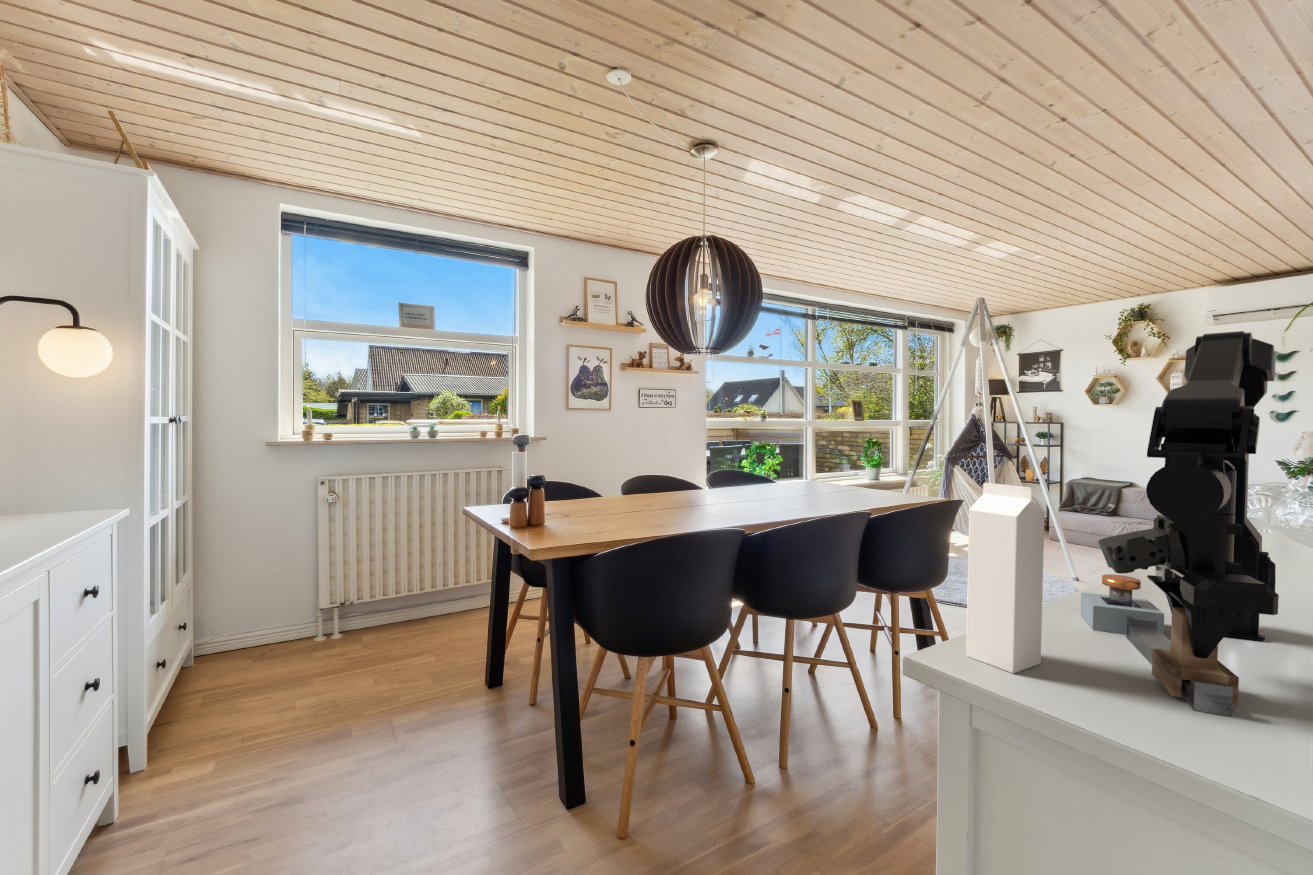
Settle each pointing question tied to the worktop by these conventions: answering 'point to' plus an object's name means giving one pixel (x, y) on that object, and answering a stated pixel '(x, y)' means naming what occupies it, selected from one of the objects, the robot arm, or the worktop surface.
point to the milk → (1005, 578)
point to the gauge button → (1120, 589)
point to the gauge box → (1116, 613)
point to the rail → (1193, 691)
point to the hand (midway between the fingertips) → (1193, 651)
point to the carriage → (1188, 661)
